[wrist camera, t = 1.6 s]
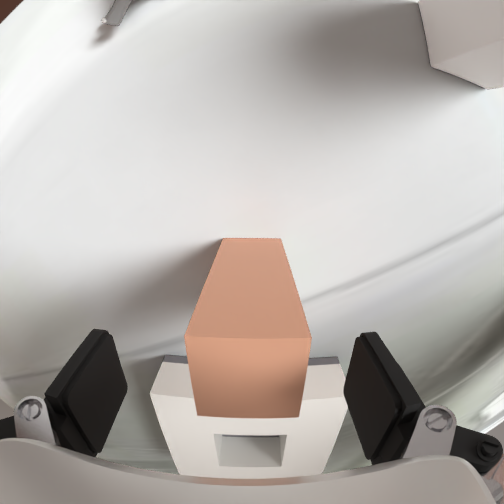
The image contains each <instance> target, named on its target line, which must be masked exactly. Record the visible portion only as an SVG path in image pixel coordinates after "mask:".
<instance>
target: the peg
mask: <svg viewBox="0 0 504 504" xmlns="http://www.w3.org/2000/svg"><path fill="white" fill-rule="evenodd" d="M184 338H185V345H186V352H187V359H188V365H189V372H190V378H191V384H192V390H193V395H194V401H195V406H196V411H197V416H207V417H223V418H297V417H299V414H300V409H301V403H302V397H303V392H304V386H305V380H306V373H307V367H308V360H309V353H310V346H311V339H312V337H311V334H310V331H309V327H308V324H307V321H306V317H305V314H304V311H303V307H302V304H301V301H300V298H299V294H298V291H297V288H296V285H295V282H294V278H293V275H292V272H291V269H290V266H289V263H288V260H287V257H286V253H285V250H284V247H283V244H282V241H281V239H272V238H223V240H222V242H221V245H220V247H219V249H218V252H217V254H216V257H215V259H214V262H213V264H212V267H211V269H210V272H209V274H208V277H207V279H206V282H205V284H204V287H203V289H202V292H201V294H200V297H199V299H198V302H197V304H196V307H195V309H194V312H193V315H192V317H191V320H190V322H189V325H188V328H187V330H186V333H185V335H184Z"/></svg>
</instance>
